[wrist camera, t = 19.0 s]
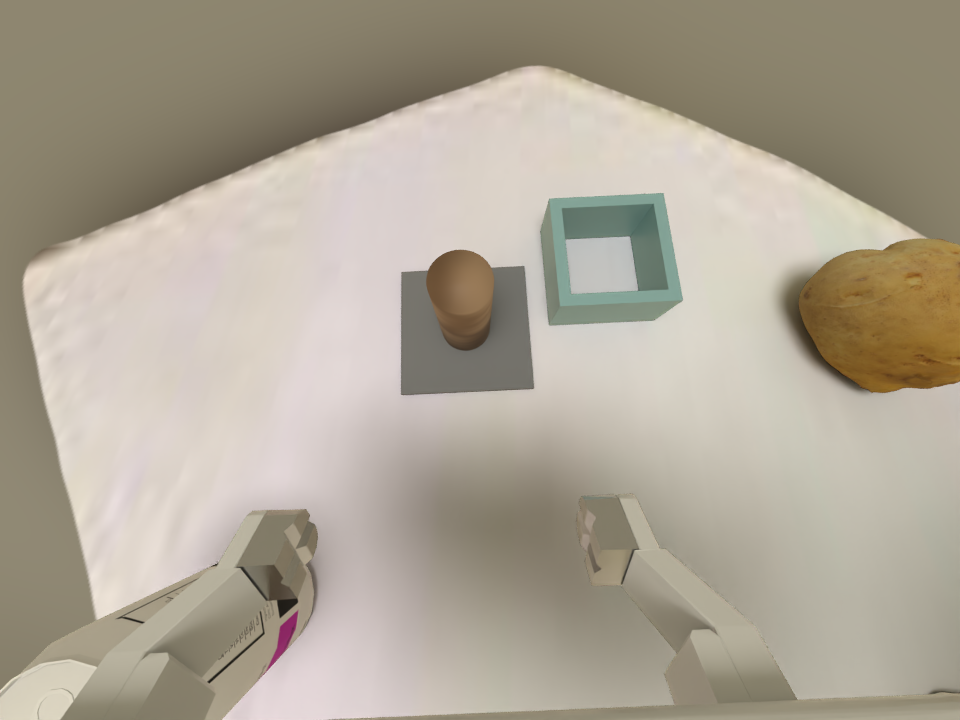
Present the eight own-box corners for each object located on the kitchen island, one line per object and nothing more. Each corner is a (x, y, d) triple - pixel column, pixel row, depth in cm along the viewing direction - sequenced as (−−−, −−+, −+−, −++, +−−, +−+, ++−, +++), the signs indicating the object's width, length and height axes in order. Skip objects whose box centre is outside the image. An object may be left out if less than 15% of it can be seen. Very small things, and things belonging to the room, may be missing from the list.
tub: (638, 226, 36) (663, 193, 31) (653, 320, 33) (682, 300, 29) (540, 231, 36) (549, 198, 31) (548, 325, 33) (560, 306, 29)
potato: (839, 417, 31) (1000, 408, 22) (751, 301, 34) (861, 246, 24) (927, 364, 32) (1119, 332, 22) (835, 255, 35) (973, 183, 25)
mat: (523, 268, 35) (524, 266, 34) (533, 388, 32) (533, 388, 32) (402, 274, 35) (401, 272, 34) (402, 395, 32) (401, 394, 32)
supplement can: (320, 644, 28) (139, 872, 13) (216, 659, 28) (-82, 907, 13) (317, 535, 30) (154, 630, 15) (219, 549, 30) (-41, 658, 15)
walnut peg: (488, 304, 33) (492, 248, 24) (490, 349, 32) (495, 311, 23) (441, 305, 33) (426, 250, 24) (442, 351, 32) (426, 313, 23)
